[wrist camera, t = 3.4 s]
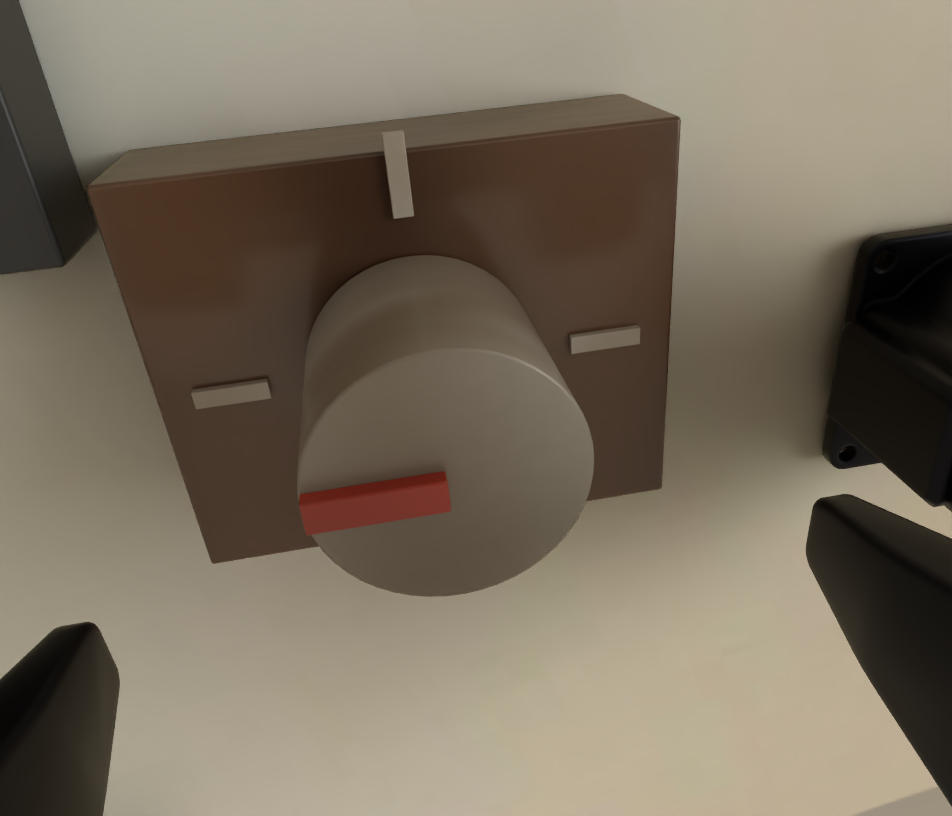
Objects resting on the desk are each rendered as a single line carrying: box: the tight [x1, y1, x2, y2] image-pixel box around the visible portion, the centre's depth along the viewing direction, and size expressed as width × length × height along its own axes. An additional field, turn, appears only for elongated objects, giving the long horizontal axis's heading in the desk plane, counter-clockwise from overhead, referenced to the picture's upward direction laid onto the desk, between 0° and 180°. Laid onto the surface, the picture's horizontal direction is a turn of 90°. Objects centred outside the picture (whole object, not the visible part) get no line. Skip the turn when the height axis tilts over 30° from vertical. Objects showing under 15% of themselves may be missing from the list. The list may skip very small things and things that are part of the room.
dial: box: [297, 255, 594, 596], centre depth 13 cm, size 4×4×4 cm
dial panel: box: [86, 94, 681, 564], centre depth 16 cm, size 10×9×3 cm
